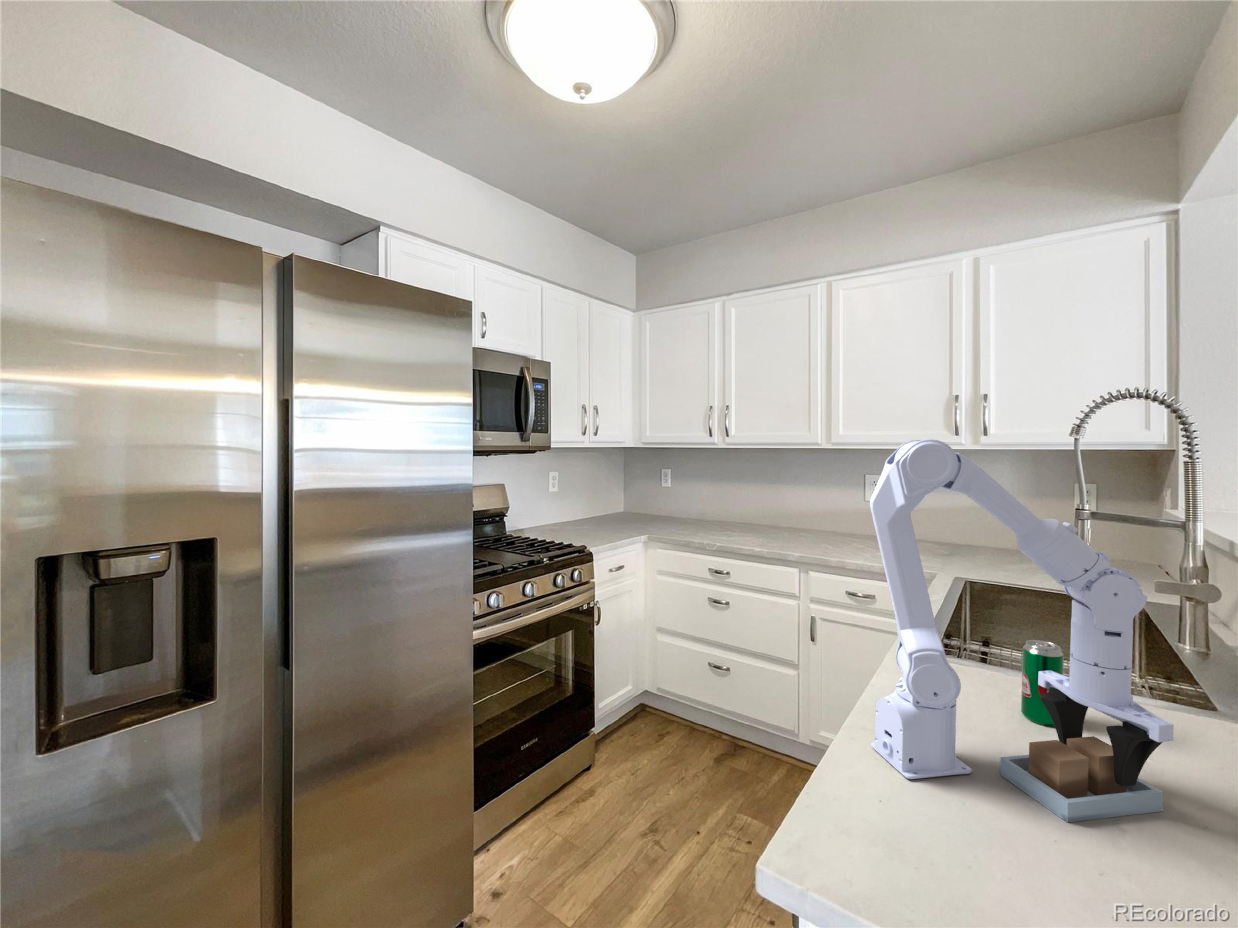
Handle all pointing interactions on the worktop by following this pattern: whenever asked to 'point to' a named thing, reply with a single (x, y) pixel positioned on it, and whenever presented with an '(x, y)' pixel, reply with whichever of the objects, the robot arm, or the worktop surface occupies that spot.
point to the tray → (1083, 808)
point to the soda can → (1033, 661)
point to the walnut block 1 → (1059, 768)
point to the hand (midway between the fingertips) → (1096, 766)
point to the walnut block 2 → (1098, 765)
